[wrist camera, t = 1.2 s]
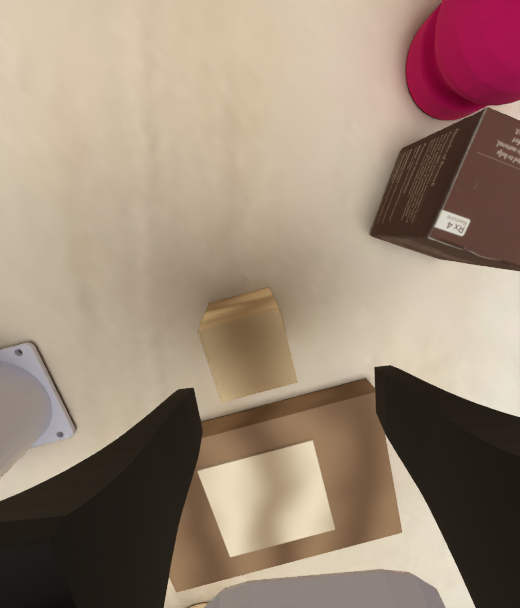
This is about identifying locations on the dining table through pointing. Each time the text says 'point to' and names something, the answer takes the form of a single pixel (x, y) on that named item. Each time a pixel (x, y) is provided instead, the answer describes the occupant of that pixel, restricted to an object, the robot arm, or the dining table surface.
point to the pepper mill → (466, 58)
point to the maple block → (246, 345)
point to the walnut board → (286, 486)
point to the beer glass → (199, 605)
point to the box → (458, 194)
